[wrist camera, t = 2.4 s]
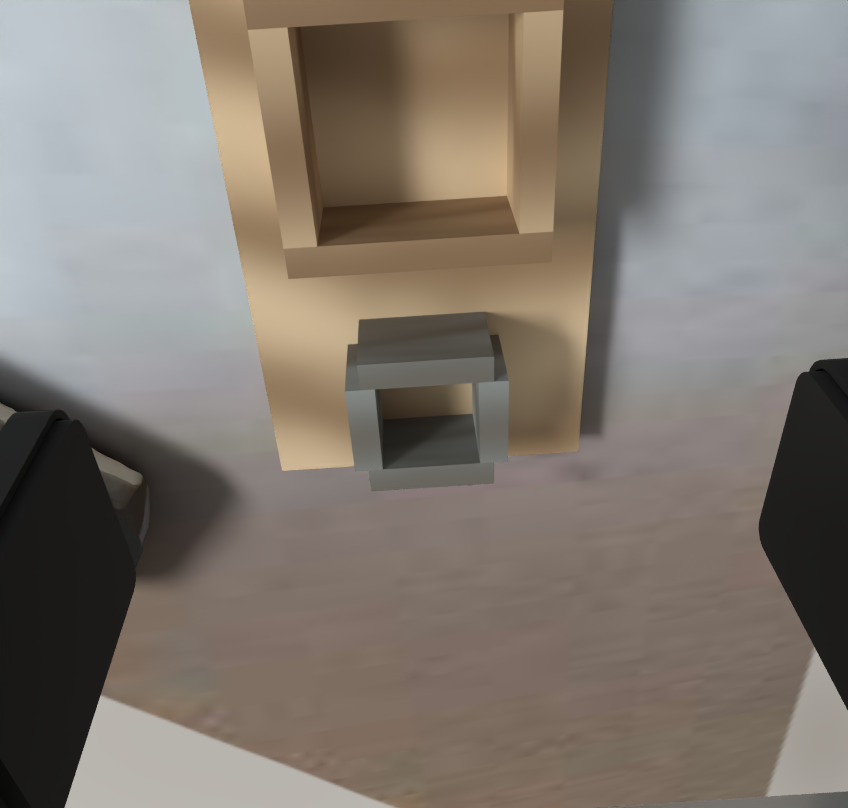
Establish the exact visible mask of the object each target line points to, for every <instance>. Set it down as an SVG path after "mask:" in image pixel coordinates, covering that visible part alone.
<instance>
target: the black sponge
mask: <svg viewBox="0 0 848 808" xmlns="http://www.w3.org/2000/svg"><path fill="white" fill-rule="evenodd" d="M14 413H17V412H16V411H15V410H14V409H12V408H10V407H7V406H5V405H3V404H1V403H0V431H1V429H2V428H3V426H4V425H5V423H6V421H7V420H8V418H9V417H10V416H11V415H12V414H14ZM92 450H93V453H94V456H95V458H96V461H97V464H98V467H99V469H100V472H101V475H102V477H103V480H104V483H105V485H106V488H107V491H108V493H109V496H110V499H111V502H112V504H113V507H114V510H115V512H116V515H117V518H118V520H119V523H120V526H121V528H122V531H123V534H124V537H125V539H126V542H127V545H128V547H129V550H130V553H131V555H132V558H133V561H134V565H135V568H136V565H137V562H138V560H139V557H140V555H141V552H142V545H143V541H144V538H145V535H146V532H147V529H148V526H149V520H150V496H149V487H148V485H147V483H146V482H145V480H144V478H143V476H142V475H141V474H140V473H138V472H136V471H134V470H132V469H130V468H128V467H126V466H125V465H123V464H122V463H120V462H118V461H116V460H113V459H111V458H109V457H107V456H105V455H103V454H101V453H99V452H97V451H96V450H95V449H93V448H92Z"/></svg>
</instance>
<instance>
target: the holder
mask: <svg viewBox="0 0 848 808" xmlns="http://www.w3.org/2000/svg"><path fill="white" fill-rule="evenodd" d="M189 4H190V9H191V14H192V19H193V24H194V29H195V34H196V39H197V44H198V49H199V54H200V59H201V64H202V69H203V74H204V79H205V84H206V89H207V94H208V99H209V104H210V109H211V114H212V119H213V124H214V129H215V134H216V139H217V144H218V149H219V155H220V160H221V165H222V170H223V175H224V180H225V185H226V190H227V195H228V200H229V205H230V210H231V215H232V220H233V225H234V230H235V235H236V240H237V245H238V250H239V255H240V260H241V265H242V270H243V275H244V280H245V285H246V290H247V295H248V300H249V305H250V310H251V315H252V321H253V326H254V331H255V336H256V341H257V346H258V351H259V356H260V361H261V366H262V371H263V376H264V381H265V386H266V391H267V396H268V401H269V406H270V411H271V416H272V421H273V426H274V431H275V436H276V441H277V446H278V451H279V456H280V461H281V466H282V471H287V470H302V469H318V468H333V467H348V466H354V467H355V471H369V475H370V484H371V491H384V490H399V489H414V488H429V487H445V486H460V485H475V484H490V483H494V462H506V461H508V456H516V455H532V454H547V453H562V452H578V445H579V433H580V420H581V407H582V394H583V382H584V369H585V356H586V344H587V331H588V318H589V305H590V293H591V280H592V267H593V254H594V242H595V229H596V216H597V203H598V191H599V178H600V165H601V152H602V140H603V127H604V114H605V102H606V89H607V76H608V63H609V51H610V38H611V25H612V12H613V0H189Z"/></svg>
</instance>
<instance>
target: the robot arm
mask: <svg viewBox="0 0 848 808" xmlns="http://www.w3.org/2000/svg"><path fill="white" fill-rule="evenodd" d="M759 536H760V541H761V544H762V547H763V549H764V551H765V553H766V555H767V557H768V559H769V561H770V563H771V565H772V566H773V568H774V570H775V572H776V574H777V576H778V578H779V580H780V582H781V584H782V586H783V587H784V589H785V591H786V593H787V595H788V597H789V599H790V601H791V603H792V605H793V607H794V608H795V610H796V612H797V614H798V616H799V618H800V620H801V622H802V624H803V626H804V628H805V629H806V631H807V633H808V635H809V637H810V639H811V641H812V643H813V645H814V647H815V649H816V651H817V652H818V654H819V656H820V658H821V660H822V662H823V664H824V666H825V668H826V669H827V672H828V673H829V675H830V677H831V679H832V681H833V683H834V685H835V687H836V689H837V691H838V692H839V694H840V696H841V698H842V700H843V702H844V704H845V706H846V708H847V710H848V358H843V359H827V360H819V361H816V362H815V363H814V364H813V365H812V366H811V368H810V371H809V372H803V373H801V374H800V375H799V377H798V379H797V381H796V384H795V388H794V392H793V395H792V399H791V403H790V407H789V411H788V414H787V418H786V422H785V426H784V429H783V433H782V437H781V441H780V445H779V448H778V452H777V456H776V460H775V463H774V467H773V471H772V475H771V479H770V482H769V486H768V490H767V494H766V497H765V501H764V505H763V509H762V513H761V516H760V521H759ZM135 581H136V571H135V565H134V561H133V558H132V555H131V553H130V550H129V547H128V545H127V542H126V539H125V537H124V534H123V531H122V528H121V526H120V523H119V520H118V518H117V515H116V512H115V510H114V507H113V504H112V502H111V499H110V496H109V493H108V491H107V488H106V485H105V483H104V480H103V477H102V475H101V472H100V469H99V467H98V464H97V461H96V458H95V456H94V453H93V450H92V448H91V445H90V442H89V440H88V437H87V434H86V432H85V429H84V427H83V425H82V423H81V422H80V421H79V420H70V419H69V417H68V416H67V414H66V413H65V412H64V411H62V410H59V409H58V410H43V411H28V412H17V413H14V414H12V415H11V416H10V417H9V418H8V420H7V421H6V423H5V425H4V426H3V428H2V429H1V431H0V808H64V807H65V804H66V801H67V798H68V795H69V792H70V788H71V785H72V782H73V779H74V776H75V773H76V770H77V766H78V763H79V760H80V757H81V754H82V751H83V748H84V745H85V742H86V738H87V736H88V732H89V729H90V726H91V723H92V720H93V717H94V713H95V711H96V707H97V704H98V701H99V698H100V695H101V692H102V689H103V686H104V682H105V679H106V676H107V673H108V670H109V667H110V664H111V661H112V657H113V654H114V651H115V648H116V645H117V642H118V639H119V636H120V632H121V629H122V626H123V623H124V620H125V617H126V614H127V611H128V608H129V604H130V601H131V598H132V595H133V592H134V588H135ZM597 808H848V792H834V793H818V794H802V795H788V796H770V797H754V798H738V799H722V800H707V801H691V802H675V803H659V804H643V805H627V806H612V807H597Z"/></svg>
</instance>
